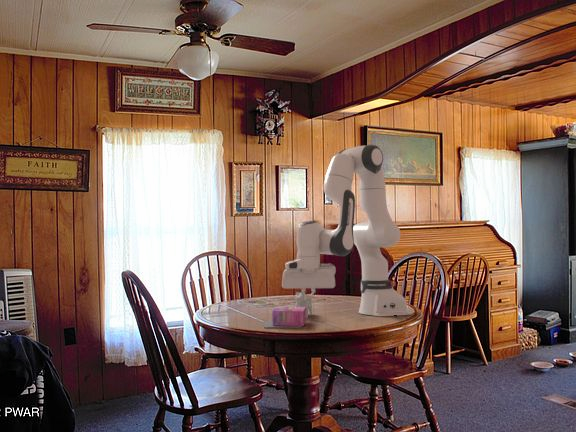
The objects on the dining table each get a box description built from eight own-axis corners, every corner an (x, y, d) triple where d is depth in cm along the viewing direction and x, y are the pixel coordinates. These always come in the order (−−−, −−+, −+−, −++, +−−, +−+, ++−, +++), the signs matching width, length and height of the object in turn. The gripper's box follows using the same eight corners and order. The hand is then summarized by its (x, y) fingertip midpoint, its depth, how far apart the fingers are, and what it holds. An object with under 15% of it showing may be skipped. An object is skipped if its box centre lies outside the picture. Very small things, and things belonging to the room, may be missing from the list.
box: (303, 310, 191) (272, 310, 193) (303, 326, 191) (272, 325, 193) (307, 306, 201) (277, 306, 203) (307, 321, 201) (277, 320, 203)
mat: (300, 321, 202) (300, 320, 202) (302, 327, 190) (302, 326, 190) (264, 322, 202) (264, 321, 202) (264, 328, 190) (264, 327, 190)
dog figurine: (292, 318, 209) (292, 292, 209) (301, 313, 221) (300, 288, 221) (305, 319, 207) (304, 292, 207) (313, 314, 219) (312, 288, 219)
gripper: (334, 262, 199) (334, 298, 199) (281, 263, 198) (281, 299, 198) (336, 264, 193) (336, 301, 192) (281, 264, 192) (282, 301, 192)
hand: (308, 300), depth 195 cm, fingers closed
